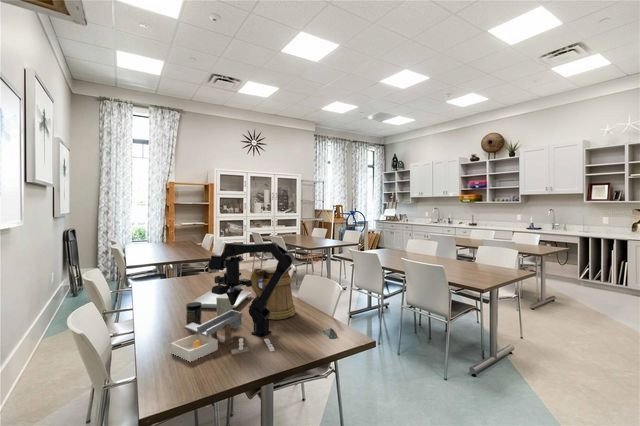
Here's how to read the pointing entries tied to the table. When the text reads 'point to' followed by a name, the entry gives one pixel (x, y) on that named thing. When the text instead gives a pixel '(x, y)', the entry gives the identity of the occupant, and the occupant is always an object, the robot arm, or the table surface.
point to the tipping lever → (217, 323)
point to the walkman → (260, 283)
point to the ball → (197, 343)
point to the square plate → (210, 298)
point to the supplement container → (194, 313)
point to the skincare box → (223, 305)
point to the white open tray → (187, 351)
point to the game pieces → (241, 350)
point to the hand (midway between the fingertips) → (232, 305)
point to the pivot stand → (223, 339)
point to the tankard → (275, 293)
